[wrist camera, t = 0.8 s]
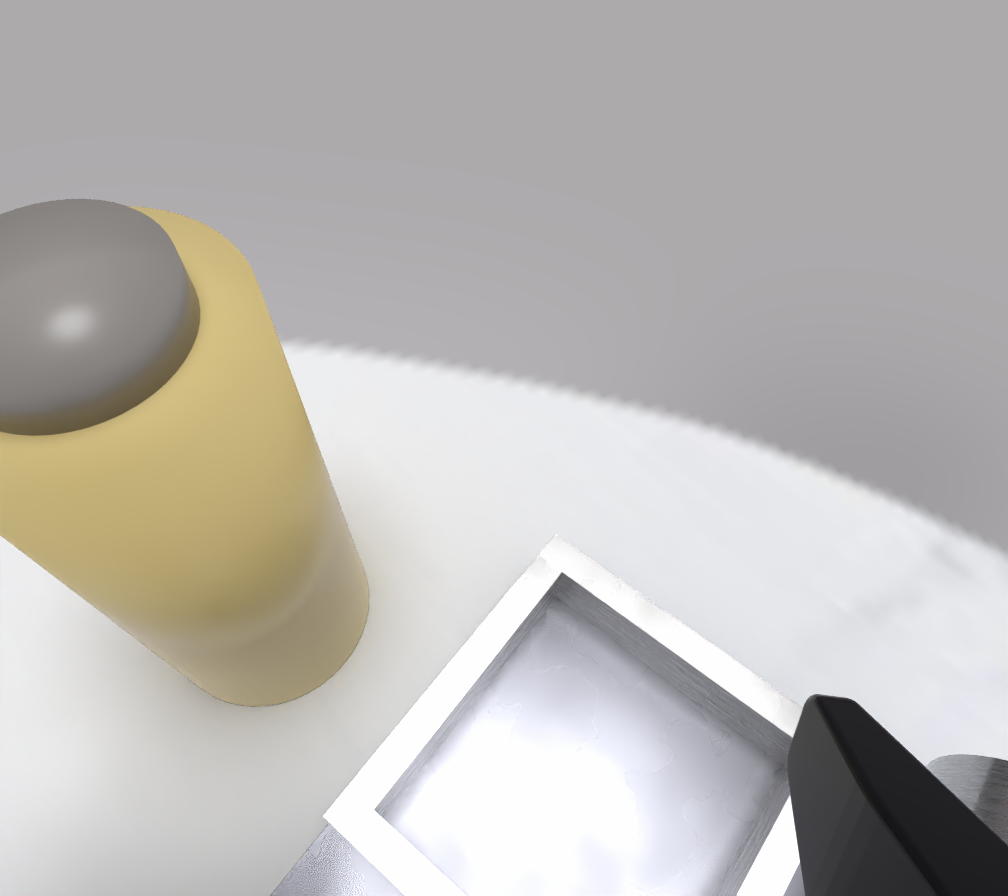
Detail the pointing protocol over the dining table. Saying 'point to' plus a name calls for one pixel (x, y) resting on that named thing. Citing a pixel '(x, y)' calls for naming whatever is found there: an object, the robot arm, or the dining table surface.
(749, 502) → the dining table surface
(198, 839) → the dining table surface
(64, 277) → the bottle
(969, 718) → the dining table surface
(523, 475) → the dining table surface
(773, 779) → the motor mount
